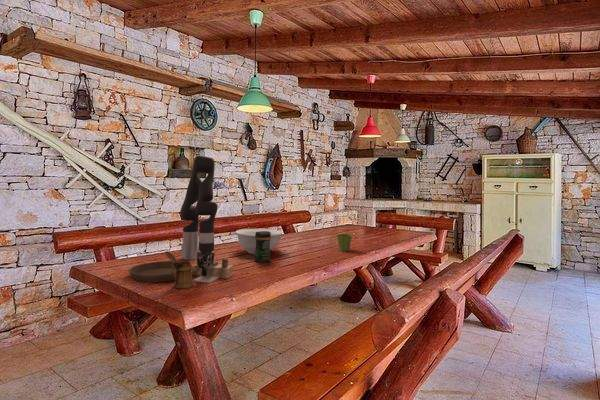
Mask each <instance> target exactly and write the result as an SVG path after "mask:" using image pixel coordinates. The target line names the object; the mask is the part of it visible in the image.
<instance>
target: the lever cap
mask: <svg viewBox="0 0 600 400" xmlns="http://www.w3.org/2000/svg"><path fill="white" fill-rule="evenodd" d="M212 275H213V265H207V268H206V276H204V277H210V276H212ZM200 276H202V269H201V268H200ZM200 276H199V277H200Z"/></svg>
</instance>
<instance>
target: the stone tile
mask: <svg viewBox="0 0 600 400" xmlns="http://www.w3.org/2000/svg"><path fill="white" fill-rule="evenodd" d="M218 279H219V278H218V277H217V276H210V277H204V276H197V277H196V278H194V279H193V282H198V283H208V284H211V283H213V282H214V281H216V280H218Z"/></svg>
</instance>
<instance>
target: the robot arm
mask: <svg viewBox="0 0 600 400" xmlns="http://www.w3.org/2000/svg"><path fill="white" fill-rule="evenodd" d="M215 162H216V161H215V159H214V158H213V157H210V156H205V155H196V156H195V157H194V159H193V164H192V169H191V175H190V179H189V180H188V181H189V182H188V184H187V185H188V186H187V188H186V192H185V197H184V200H183V203H182V205H181V207H180V214H179V216H180V219H181V220H182V221H186V222H187V221H191V222H190V223H189V224H187V225H184V226H183V227H182V243H181V250H180V251H181V253H180V254H181V258H180V259H182V260H184V261H190V260H191V261H193V260H197V252H198V251H201V257H200V258H199V257H198V264H199V268H201V269H202V276H206V268H207V265H212V264H213V262H215V255H216V254H215V252H213V251H215V234H214V232H215V226H214V225H215V219H216V216H217V212H218V208H219V207H218V204H217V202H216V201H213V199H214V186H213V185H214V179H215V166H216V163H215ZM199 173H201V174H206V177H205V178H203V180H202V179H201V178H200V176H199ZM194 204H195V205H194ZM200 216H209V217H208V218H207V219H203V220H200V221H199V218H200ZM204 264H205V265H204Z"/></svg>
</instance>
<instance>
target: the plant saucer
mask: <svg viewBox="0 0 600 400" xmlns="http://www.w3.org/2000/svg"><path fill="white" fill-rule="evenodd" d="M176 262H181V261H178V260H176ZM172 263H173V262H172V261H171V260H165V261H164V260H162V261H161V260H160V261H153V262H146V263H140V264H137V265H134V266H132V267H129V269H128V273H129V274H130V276H131V277H133V278H134V280H136V281H139V282H145V283H146V282H147V283H161V282H163V283H164V282H171V281H175V279H174V277H173V275H172V273H171V265H172ZM192 266H193V264H191V267H192ZM174 272H175V273H176V268H175V270H174Z"/></svg>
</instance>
